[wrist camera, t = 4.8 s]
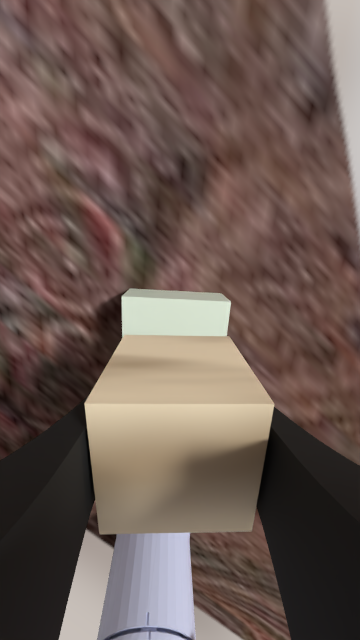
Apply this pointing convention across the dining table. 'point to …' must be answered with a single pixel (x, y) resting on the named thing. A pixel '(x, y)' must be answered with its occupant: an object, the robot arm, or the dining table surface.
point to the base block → (174, 313)
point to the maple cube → (177, 436)
